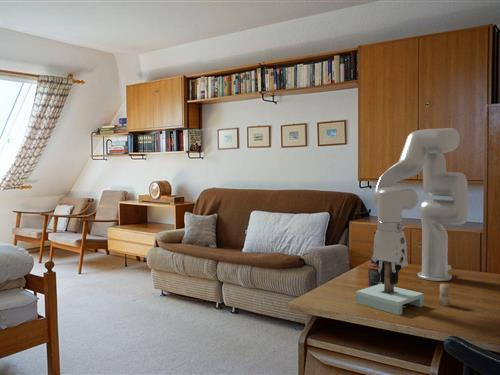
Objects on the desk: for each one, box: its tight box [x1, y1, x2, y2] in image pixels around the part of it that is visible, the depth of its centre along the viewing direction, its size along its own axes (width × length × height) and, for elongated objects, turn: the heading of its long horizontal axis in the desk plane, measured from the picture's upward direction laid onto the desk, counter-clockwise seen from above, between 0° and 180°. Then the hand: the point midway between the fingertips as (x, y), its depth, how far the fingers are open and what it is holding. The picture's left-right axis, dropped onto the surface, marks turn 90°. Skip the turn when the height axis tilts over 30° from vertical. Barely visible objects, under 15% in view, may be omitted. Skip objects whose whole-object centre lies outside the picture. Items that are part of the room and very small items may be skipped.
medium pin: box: [439, 283, 451, 307], centre depth 146 cm, size 3×3×6 cm
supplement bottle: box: [367, 256, 384, 287], centre depth 167 cm, size 6×6×11 cm
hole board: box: [355, 284, 424, 316], centre depth 147 cm, size 14×16×4 cm
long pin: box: [384, 261, 394, 293], centre depth 146 cm, size 3×3×10 cm
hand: (389, 282), depth 146 cm, fingers closed on long pin, 3 cm apart
